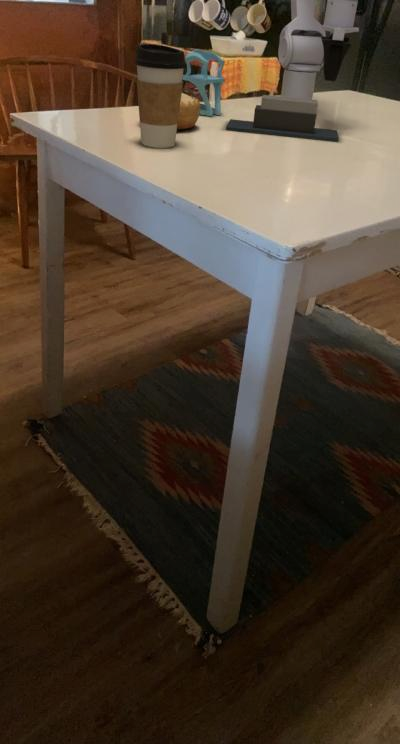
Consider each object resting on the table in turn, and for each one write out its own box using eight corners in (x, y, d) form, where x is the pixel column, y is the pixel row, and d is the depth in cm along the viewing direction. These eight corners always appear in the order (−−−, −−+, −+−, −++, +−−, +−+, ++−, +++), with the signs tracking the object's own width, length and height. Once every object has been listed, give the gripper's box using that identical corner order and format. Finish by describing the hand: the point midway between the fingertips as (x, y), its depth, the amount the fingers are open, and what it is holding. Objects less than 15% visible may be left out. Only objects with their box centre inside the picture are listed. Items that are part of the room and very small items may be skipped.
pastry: (203, 134, 114) (207, 82, 109) (140, 132, 112) (141, 79, 107) (194, 120, 124) (197, 72, 119) (136, 118, 122) (136, 69, 117)
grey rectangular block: (252, 127, 120) (256, 97, 117) (254, 123, 123) (257, 94, 120) (313, 133, 119) (318, 103, 116) (313, 129, 122) (318, 100, 119)
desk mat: (230, 122, 125) (230, 119, 125) (336, 133, 124) (337, 130, 123) (225, 130, 119) (225, 126, 119) (338, 141, 117) (338, 138, 117)
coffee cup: (160, 136, 111) (162, 43, 102) (192, 146, 106) (197, 49, 98) (123, 141, 105) (123, 44, 97) (155, 152, 101) (158, 50, 92)
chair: (204, 117, 127) (209, 54, 121) (175, 110, 132) (178, 48, 125) (227, 114, 132) (233, 52, 126) (199, 107, 137) (202, 47, 130)
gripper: (366, 2, 109) (351, 85, 116) (361, 0, 121) (347, 75, 128) (327, -1, 110) (314, 81, 117) (325, -3, 122) (314, 72, 129)
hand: (329, 78), depth 123 cm, fingers open, 7 cm apart
